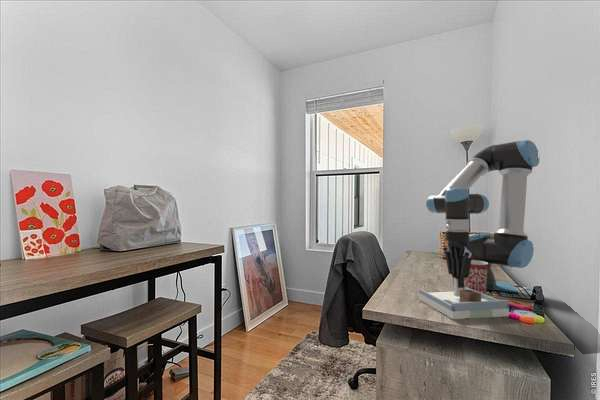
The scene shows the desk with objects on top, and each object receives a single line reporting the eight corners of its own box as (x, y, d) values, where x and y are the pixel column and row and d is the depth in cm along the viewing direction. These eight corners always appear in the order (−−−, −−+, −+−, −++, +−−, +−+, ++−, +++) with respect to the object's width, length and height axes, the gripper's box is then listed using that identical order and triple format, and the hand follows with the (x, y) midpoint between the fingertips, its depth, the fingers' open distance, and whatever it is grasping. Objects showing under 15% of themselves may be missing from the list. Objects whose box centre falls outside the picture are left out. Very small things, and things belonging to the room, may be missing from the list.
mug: (491, 300, 112) (490, 264, 112) (464, 297, 115) (463, 263, 116) (484, 291, 123) (484, 259, 124) (460, 289, 127) (460, 257, 127)
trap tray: (466, 297, 116) (466, 284, 116) (509, 316, 96) (508, 300, 96) (419, 299, 113) (419, 286, 113) (452, 319, 93) (452, 303, 93)
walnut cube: (471, 302, 102) (471, 289, 102) (481, 307, 97) (481, 293, 97) (459, 303, 101) (459, 290, 101) (468, 307, 97) (468, 294, 97)
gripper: (436, 229, 112) (438, 291, 112) (460, 232, 99) (462, 302, 99) (454, 229, 113) (455, 290, 113) (480, 232, 101) (481, 301, 100)
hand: (458, 295), depth 106 cm, fingers closed
